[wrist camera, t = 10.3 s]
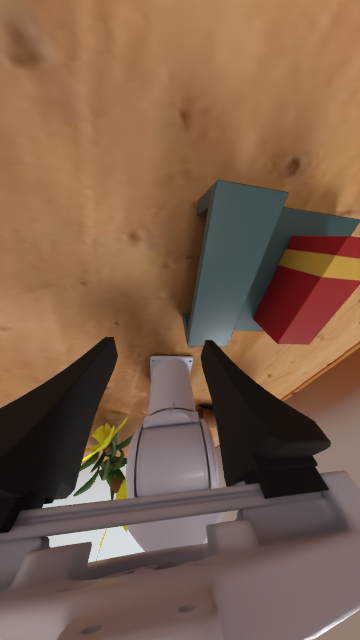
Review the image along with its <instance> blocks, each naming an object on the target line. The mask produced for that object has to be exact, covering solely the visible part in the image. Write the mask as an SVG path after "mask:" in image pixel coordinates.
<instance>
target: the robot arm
mask: <svg viewBox="0 0 360 640" xmlns="http://www.w3.org/2000/svg"><path fill="white" fill-rule="evenodd" d="M117 357H118V354H117V350H116V345H115V340H114V337H105V338H104V339H102V340H101V341H100V342H99V343H98V344H96V345H95V346H94V347H93V348H92V349H90V350H89V351H88V352H87V353H85V354H84V355H83V356H82V357H81V358H79V359H78V360H77V361H75V362H74V363H73V364H71V365H70V366H69V367H67V368H66V369H65V370H63V371H62V372H60V373H59V374H57V375H56V376H54V377H53V378H51V379H50V380H48V381H47V382H45V383H44V384H42V385H40V386H39V387H37V388H35V389H34V390H32V391H30V392H29V393H27V394H25V395H23V396H22V397H20V398H18V399H17V400H15V401H13V402H11V403H9V404H7V405H6V406H4V407H2V408H0V640H313V639H315V638H317V637H318V636H320V635H321V634H323V633H324V632H326V631H328V630H329V629H331V628H332V627H334V626H335V625H337V624H338V623H340V622H341V621H343V620H345V619H346V618H348V617H349V616H351V615H352V614H354V613H355V612H357V611H359V610H360V489H359V487H358V486H357V485H356V483H355V482H354V481H353V479H352V478H351V477H350V475H349V474H348V473H347V472H346V471H336V472H327V473H322V474H319V473H318V471H317V469H316V468H315V466H317V462H316V461H315V459H314V458H313V455H315V454H317V453H319V452H321V451H323V450H325V449H327V448H328V447H330V445H331V442H330V440H329V439H328V438H327V437H326V435H325V434H324V433H323V431H322V430H321V429H320V428H319V426H318V425H317V424H316V423H315V421H313V420H312V419H310V418H309V417H307V416H305V415H303V414H302V413H300V412H298V411H297V410H295V409H293V408H292V407H290V406H289V405H287V404H286V403H284V402H283V401H281V400H279V399H278V398H277V397H275V396H274V395H272V394H271V393H269V392H268V391H267V390H265V389H264V388H263V387H261V386H260V385H259V384H257V383H256V382H255V381H254V380H252V379H251V378H250V377H249V376H248V375H246V374H245V373H244V372H243V371H242V370H241V369H240V368H239V367H238V366H237V365H236V364H234V363H233V362H232V361H231V360H230V358H229V357H228V356H227V355H226V354H225V353H224V352H223V351H222V350H221V349H220V348H219V347H218V345H217V344H216V343H215V342H214V341H213V340H205V343H204V347H203V350H202V354H201V362H202V368H203V372H204V375H205V378H206V382H207V385H208V388H209V392H210V395H211V399H212V403H213V408H214V413H215V419H216V424H217V430H218V436H219V442H220V448H221V456H222V463H223V470H224V478H225V481H226V486H227V487H223V488H219V486H218V479H219V474H218V464H217V457H216V452H215V446H214V442H213V437H212V434H211V430H210V428H209V425H208V424H207V423H206V422H205V421H204V419H199V416H198V412H196V410H195V404H194V398H193V391H192V385H191V379H190V372H191V367H192V363H193V357H192V356H151V357H150V368H151V390H150V400H149V409H148V417H144V424H143V425H141V426H139V427H138V428H137V430H136V431H135V433H134V435H133V437H132V440H131V443H130V447H129V452H128V458H127V467H126V489H127V499H118V500H109V501H100V502H92V503H84V504H74V505H66V506H57V507H48V508H42V506H43V504H49V503H52V502H53V501H54V500H55V499H65V498H67V497H68V496H69V495H70V494H71V493H72V492H73V490H74V489H75V486H76V482H77V478H78V474H79V470H80V467H81V463H82V459H83V455H84V452H85V448H86V445H87V441H88V438H89V434H90V431H91V428H92V425H93V421H94V418H95V415H96V412H97V409H98V406H99V403H100V401H101V398H102V396H103V394H104V391H105V389H106V387H107V384H108V382H109V380H110V377H111V375H112V373H113V370H114V368H115V364H116V361H117ZM234 510H239V511H238V513H237V519H236V520H235V521H228V522H221V523H217V522H218V520H219V517H220V512H227V511H234ZM125 525H128V530H129V532H130V533H131V534H132V536H133V537H134V538H135V540H136V541H137V542H138V544H139V545H140V546H141V547H142V548H143V550H144V551H145V552H142V553H137V554H131V555H126V556H121V557H116V558H110V559H105V560H100V561H95V562H90V563H88V559H89V555H90V551H91V546H92V543H91V542H86V543H79V544H72V545H65V546H60V547H54V548H50V547H49V538H48V537H46V536H53V535H60V534H67V533H75V532H82V531H89V530H96V529H103V528H110V527H118V526H125ZM206 541H208V543H206Z"/></svg>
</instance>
